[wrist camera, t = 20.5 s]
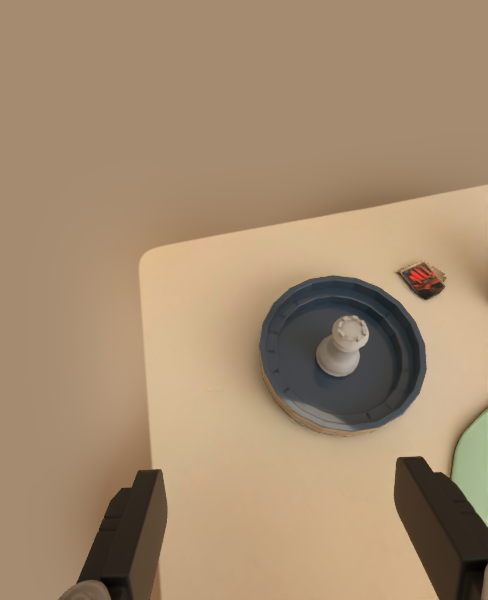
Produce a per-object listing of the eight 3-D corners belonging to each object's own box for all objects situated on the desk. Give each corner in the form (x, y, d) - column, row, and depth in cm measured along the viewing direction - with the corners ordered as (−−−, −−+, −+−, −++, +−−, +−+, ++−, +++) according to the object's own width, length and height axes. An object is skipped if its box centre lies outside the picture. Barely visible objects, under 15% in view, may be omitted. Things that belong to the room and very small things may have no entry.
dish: (384, 468, 35) (398, 465, 31) (234, 391, 39) (231, 380, 35) (428, 327, 41) (444, 312, 38) (296, 274, 45) (299, 255, 42)
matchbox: (428, 304, 42) (430, 302, 42) (392, 276, 44) (393, 274, 44) (452, 280, 44) (454, 278, 43) (416, 254, 46) (418, 252, 45)
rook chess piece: (324, 383, 38) (338, 358, 31) (309, 344, 40) (319, 312, 33) (364, 371, 38) (387, 344, 31) (347, 333, 40) (366, 300, 33)
